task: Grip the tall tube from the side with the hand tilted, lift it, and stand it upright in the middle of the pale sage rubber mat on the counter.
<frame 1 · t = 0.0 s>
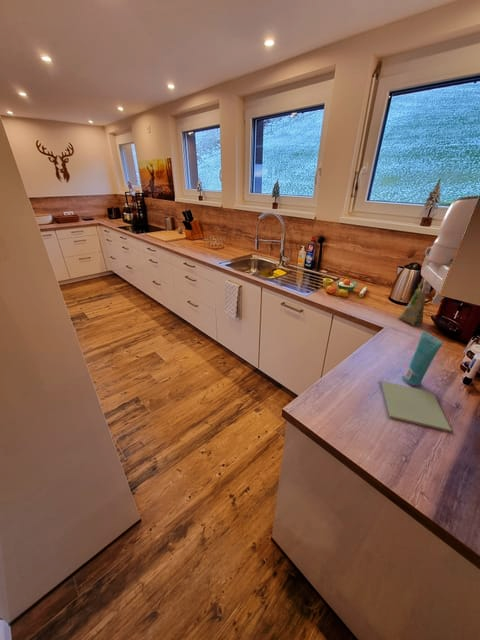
hand: (429, 298, 84), 30 cm above the worktop, tool pointing down, fingers open, 8 cm apart
tube: (411, 381, 95), on the worktop
pouch: (409, 321, 136), on the worktop
mat: (412, 405, 84), on the worktop
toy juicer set: (345, 293, 168), on the worktop
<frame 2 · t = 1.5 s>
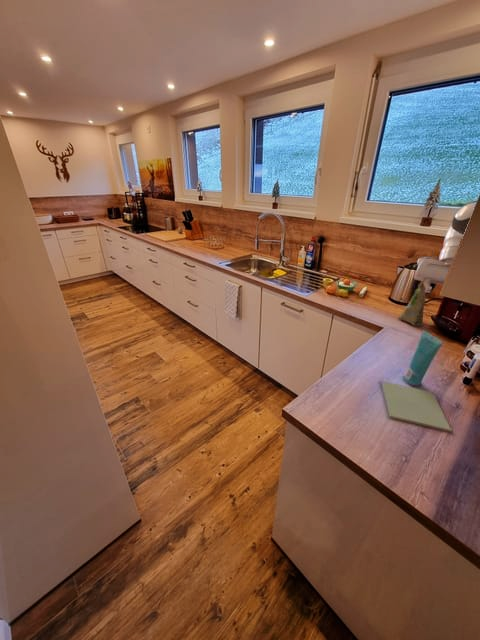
hand: (443, 295, 90), 29 cm above the worktop, tool tilted 45°, fingers open, 8 cm apart
nothing on the worktop moved.
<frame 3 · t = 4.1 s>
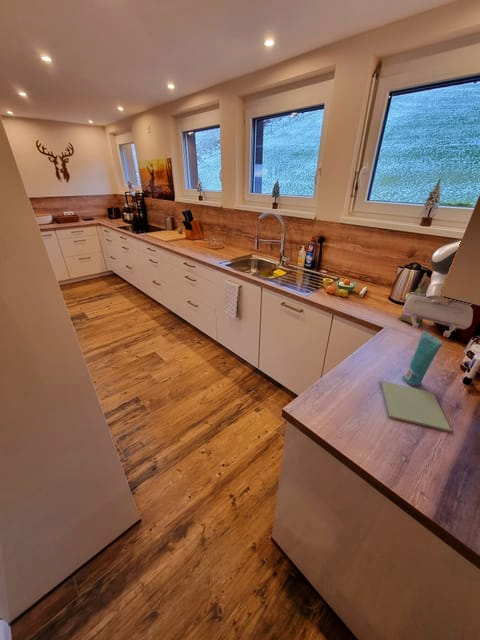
hand: (430, 332, 92), 17 cm above the worktop, tool tilted 45°, fingers open, 8 cm apart
nothing on the worktop moved.
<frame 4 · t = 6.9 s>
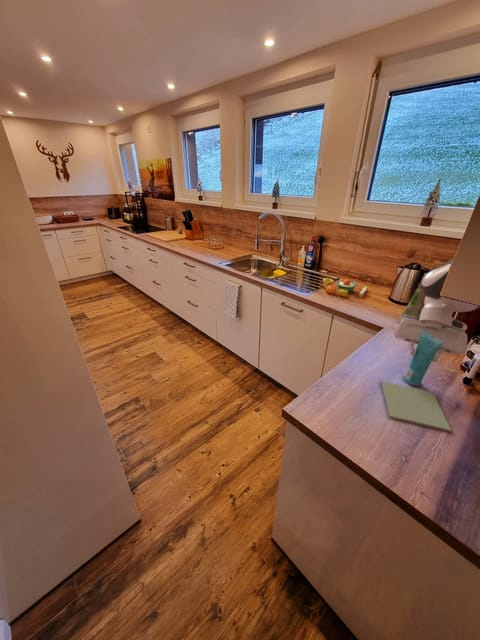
hand: (423, 357, 89), 11 cm above the worktop, tool tilted 45°, fingers closed on tube, 5 cm apart
tube: (411, 381, 95), on the worktop, touching gripper
everything else where it was.
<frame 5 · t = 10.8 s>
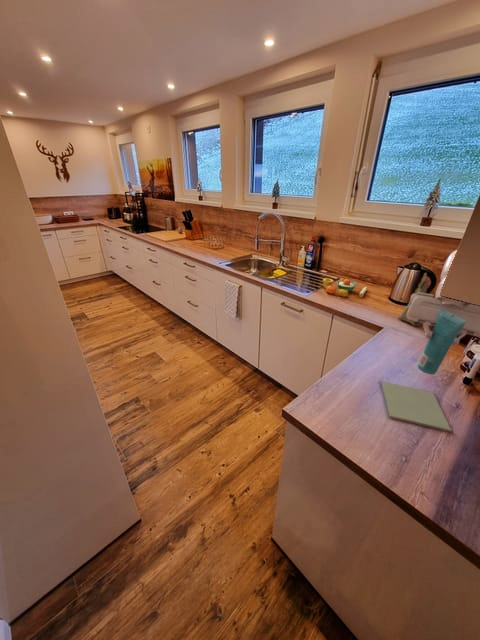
hand: (440, 341, 75), 23 cm above the worktop, tool tilted 45°, fingers closed on tube, 5 cm apart
tube: (426, 369, 81), point 12 cm above the worktop, touching gripper
everything else where it was.
when the fingers open (11 cm above the worktop, at t = 14.8 s): tube stays where it is, resting on mat.
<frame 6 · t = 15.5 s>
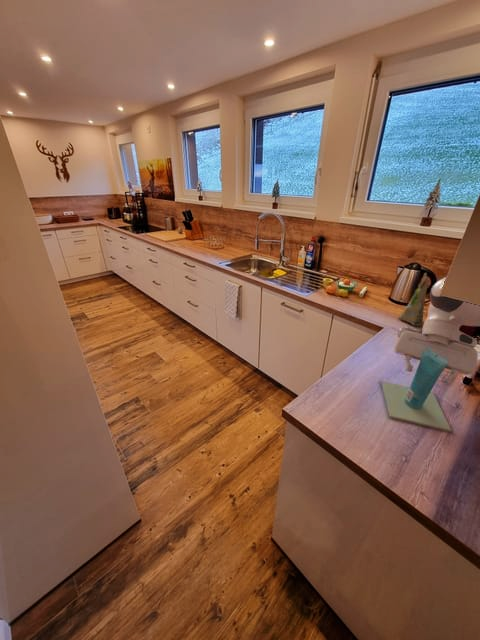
hand: (426, 376, 78), 12 cm above the worktop, tool tilted 45°, fingers open, 8 cm apart
tube: (412, 403, 84), point 1 cm above the worktop, touching mat
everything else where it was.
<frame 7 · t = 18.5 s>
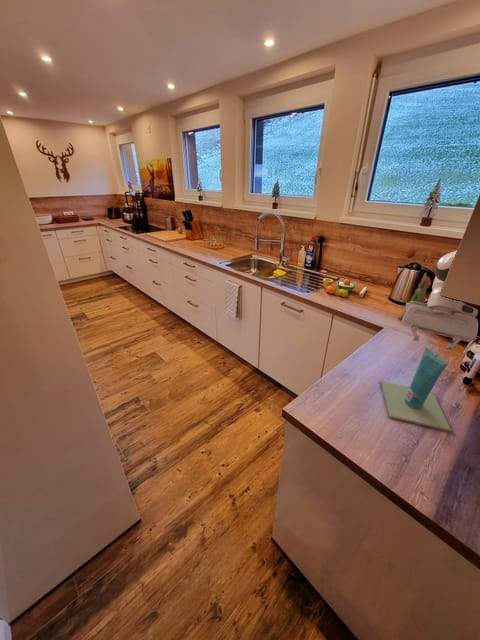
hand: (431, 344, 85), 17 cm above the worktop, tool tilted 45°, fingers open, 8 cm apart
nothing on the worktop moved.
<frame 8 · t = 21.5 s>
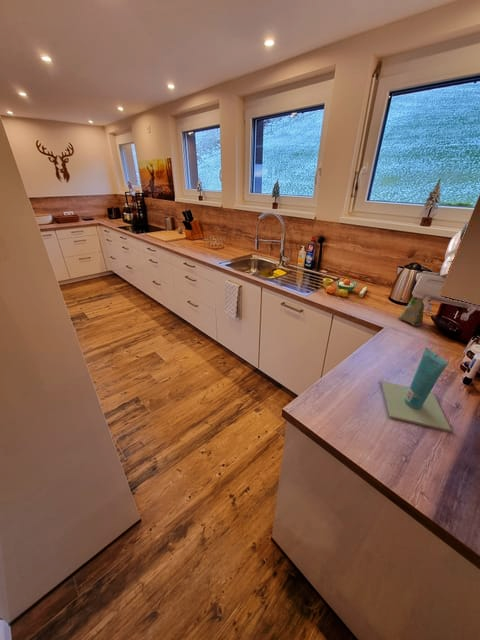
hand: (445, 315, 80), 27 cm above the worktop, tool tilted 45°, fingers open, 8 cm apart
nothing on the worktop moved.
at the end: tube inside the target area on the mat (0.1 cm from its centre), point 0.6 cm above the mat's base; tube tilted 0°; the gripper is holding nothing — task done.
